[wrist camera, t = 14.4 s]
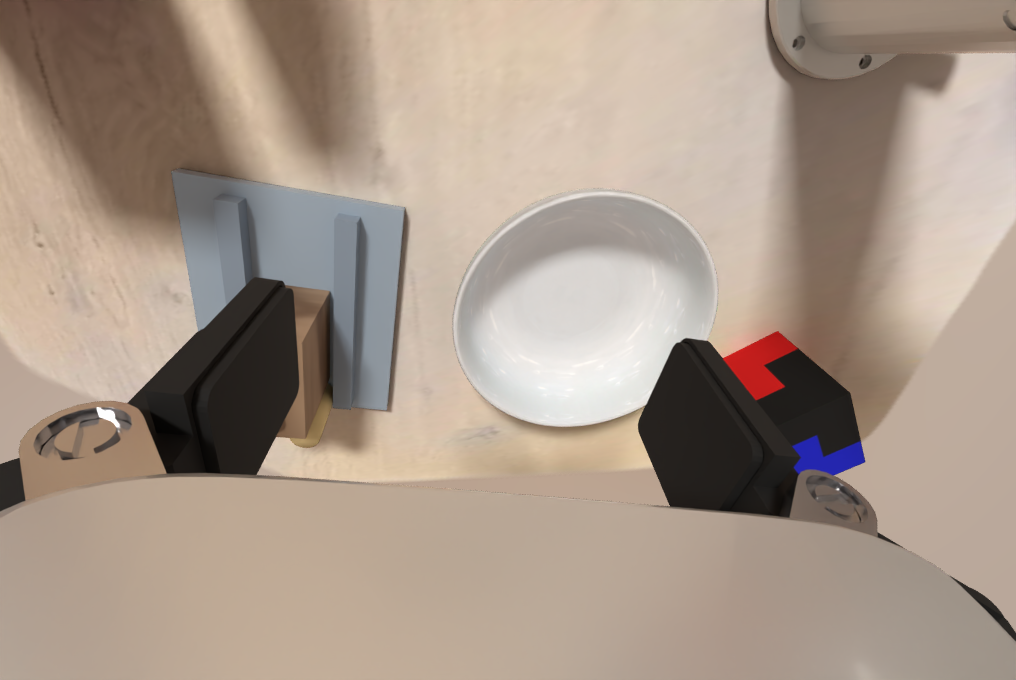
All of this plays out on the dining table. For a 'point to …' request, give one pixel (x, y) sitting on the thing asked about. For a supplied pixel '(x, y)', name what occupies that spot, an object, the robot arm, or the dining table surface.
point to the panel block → (309, 358)
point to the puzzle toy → (801, 403)
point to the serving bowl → (581, 306)
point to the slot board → (301, 269)
